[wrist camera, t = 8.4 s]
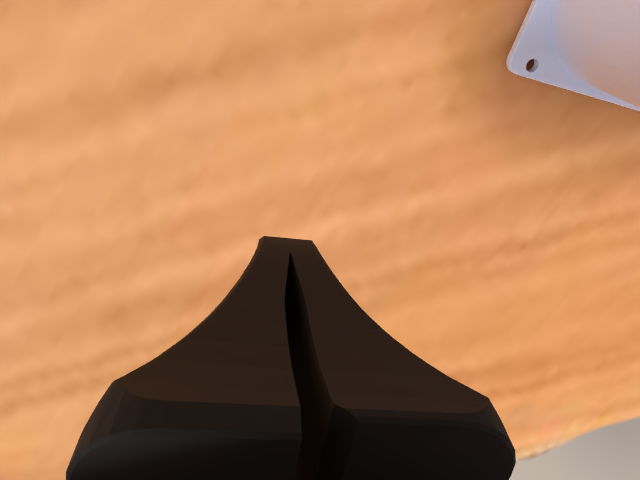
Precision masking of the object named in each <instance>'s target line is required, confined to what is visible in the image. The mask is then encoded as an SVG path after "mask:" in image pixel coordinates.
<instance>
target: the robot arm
mask: <svg viewBox="0 0 640 480" xmlns="http://www.w3.org/2000/svg"><path fill="white" fill-rule="evenodd" d="M531 59H534V66H533V67H532V68H531V69H529V70H526V64H527V63H528V61H529V60H531ZM506 66H507V68H508V70H509V71H511V72H512V73H514V74H516V75H519V76H523V77H526V78H530V79H533V80H536V81H540V82H543V83H546V84H550V85H553V86H556V87H560V88H563V89H567V90H570V91H573V92H577V93H580V94H583V95H587V96H590V97H594V98H597V99H600V100H604V101H607V102H610V103H614V104H617V105H620V106H624V107H627V108H631V109H634V110H637V111H640V0H533V1H532V3H531V6H530V8H529V10H528V12H527V15H526V17H525V19H524V21H523V24H522V26H521V28H520V30H519V33H518V35H517V37H516V39H515V41H514V44H513V46H512V48H511V50H510V53H509V55H508V57H507V61H506ZM515 463H516V460H515V449H514V447H513V445H512V443H511V441H510V439H509V436H508V434H507V432H506V430H505V427H504V425H503V423H502V421H501V419H500V417H499V415H498V414H497V412H496V410H495V408H494V407H493V405H492V403H491V401H490V400H489V398H488V397H486V396H484V395H482V394H480V393H478V392H476V391H474V390H473V389H471V388H469V387H467V386H465V385H463V384H461V383H459V382H458V381H456V380H454V379H452V378H450V377H448V376H447V375H445V374H444V373H442V372H440V371H439V370H437V369H436V368H434V367H432V366H431V365H429V364H428V363H426V362H425V361H423V360H422V359H420V358H419V357H417V356H416V355H415V354H413V353H412V352H410V351H409V350H408V349H407V348H405V347H404V346H403V345H401V344H400V343H399V342H398V341H396V340H395V339H394V338H392V337H391V336H390V335H389V334H388V333H387V332H385V331H384V330H383V329H382V328H381V327H380V326H379V325H378V324H377V323H376V322H375V321H373V320H372V319H371V318H370V317H369V316H368V315H367V314H366V313H365V312H364V311H363V310H362V309H361V308H360V306H359V305H358V304H357V303H356V302H355V301H354V300H353V298H352V297H351V296H350V295H349V294H348V292H347V291H346V290H345V289H344V287H343V286H342V284H341V283H340V282H339V280H338V279H337V278H336V276H335V275H334V274H333V272H332V271H331V269H330V268H329V266H328V265H327V263H326V262H325V260H324V259H323V257H322V256H321V254H320V252H319V251H318V249H317V247H316V246H315V244H314V243H313V242H312V241H311V240H301V239H290V238H279V237H268V236H263V237H262V238H261V239H259V243H258V246H257V249H256V251H255V254H254V256H253V258H252V259H251V261H250V263H249V265H248V266H247V268H246V269H245V271H244V273H243V274H242V276H241V277H240V279H239V280H238V282H237V283H236V284H235V286H234V287H233V288H232V289H231V291H230V292H229V293H228V295H227V296H226V297H225V298H224V300H223V301H222V302H221V303H220V304H219V305H218V306H217V307H216V309H215V310H214V311H213V312H212V313H211V314H210V315H209V316H208V317H207V318H206V319H205V320H203V321H202V322H201V323H200V324H199V325H198V326H197V327H196V328H195V329H193V330H192V331H191V332H190V333H189V334H188V335H186V336H185V337H184V338H183V339H181V340H180V341H179V342H177V343H176V344H175V345H173V346H172V347H170V348H169V349H168V350H166V351H165V352H163V353H162V354H161V355H159V356H158V357H156V358H155V359H153V360H152V361H150V362H148V363H147V364H145V365H143V366H141V367H139V368H138V369H136V370H134V371H132V372H130V373H128V374H127V375H125V376H123V377H121V378H119V379H117V380H115V381H113V382H112V384H111V385H110V386H109V388H108V389H107V391H106V392H105V394H104V395H103V397H102V398H101V400H100V401H99V403H98V405H97V406H96V408H95V410H94V411H93V413H92V415H91V417H90V418H89V420H88V422H87V424H86V426H85V427H84V429H83V431H82V434H81V436H80V438H79V440H78V443H77V446H76V448H75V451H74V453H73V456H72V458H71V461H70V463H69V466H68V468H67V471H66V480H509V478H510V476H511V474H512V471H513V468H514V466H515Z"/></svg>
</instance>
